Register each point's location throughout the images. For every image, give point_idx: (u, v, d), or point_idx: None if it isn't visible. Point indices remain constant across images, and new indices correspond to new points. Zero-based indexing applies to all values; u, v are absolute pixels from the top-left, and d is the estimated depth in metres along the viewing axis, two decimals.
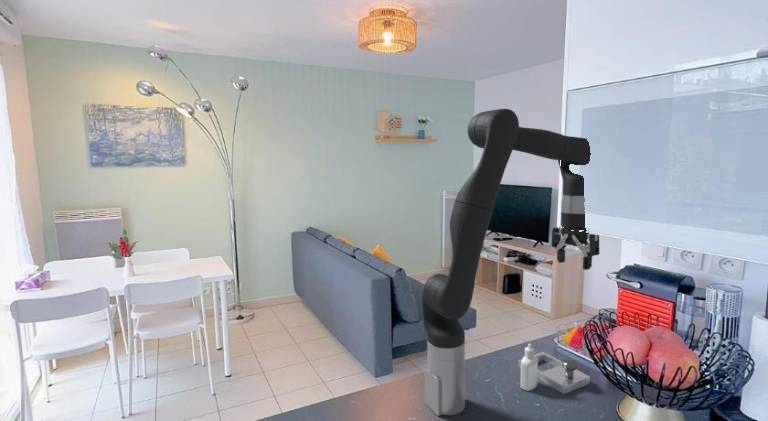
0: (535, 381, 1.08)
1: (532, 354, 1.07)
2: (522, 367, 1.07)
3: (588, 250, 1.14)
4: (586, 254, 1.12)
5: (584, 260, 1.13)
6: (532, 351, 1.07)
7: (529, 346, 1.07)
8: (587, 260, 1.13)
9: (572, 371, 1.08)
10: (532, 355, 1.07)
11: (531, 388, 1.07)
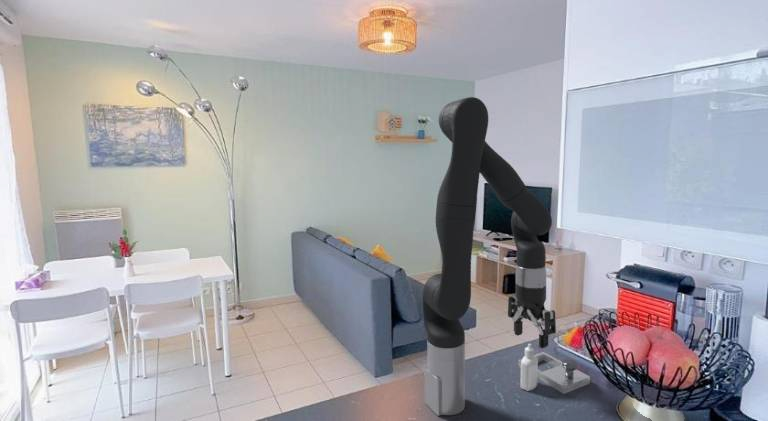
0: (535, 381, 1.08)
1: (532, 354, 1.07)
2: (522, 367, 1.07)
3: (544, 326, 1.03)
4: (542, 332, 1.02)
5: (540, 338, 1.03)
6: (532, 351, 1.07)
7: (529, 346, 1.07)
8: (543, 338, 1.02)
9: (572, 371, 1.08)
10: (532, 355, 1.07)
11: (531, 388, 1.07)
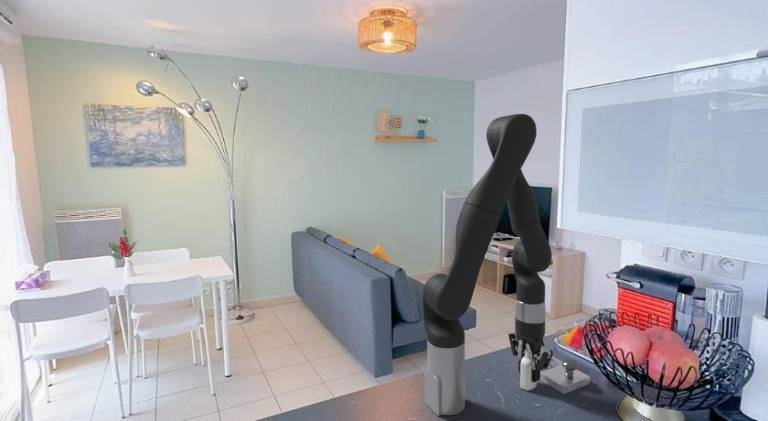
0: None
1: None
2: (522, 367, 1.07)
3: (538, 361, 1.06)
4: (534, 367, 1.05)
5: (532, 372, 1.06)
6: None
7: None
8: (535, 373, 1.06)
9: (572, 371, 1.08)
10: None
11: (531, 388, 1.07)
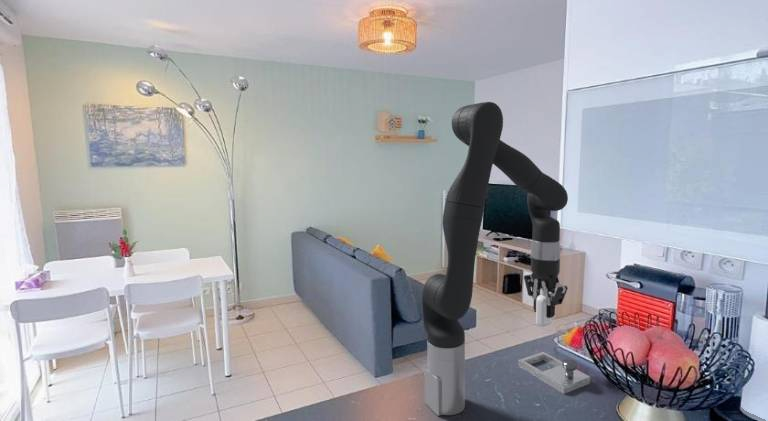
0: (550, 318, 1.14)
1: None
2: (537, 304, 1.13)
3: (553, 298, 1.13)
4: (549, 303, 1.12)
5: (547, 308, 1.12)
6: None
7: None
8: (550, 309, 1.12)
9: (572, 371, 1.08)
10: None
11: (546, 324, 1.13)
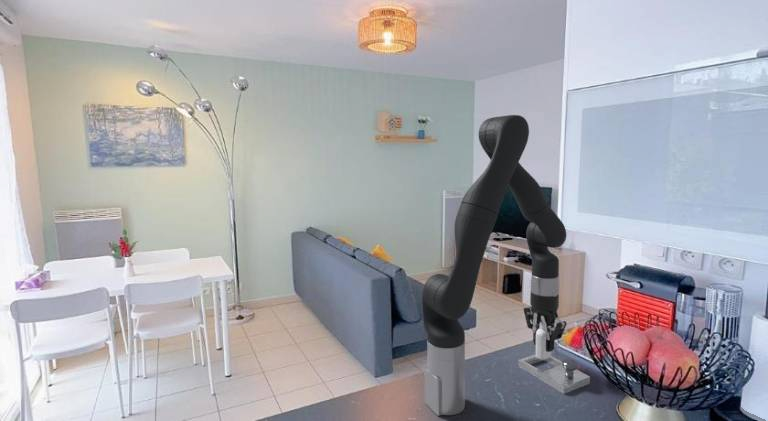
0: None
1: None
2: (537, 338, 1.15)
3: (552, 332, 1.14)
4: (548, 337, 1.13)
5: (547, 342, 1.14)
6: None
7: None
8: (549, 343, 1.13)
9: (572, 371, 1.08)
10: None
11: (546, 357, 1.15)
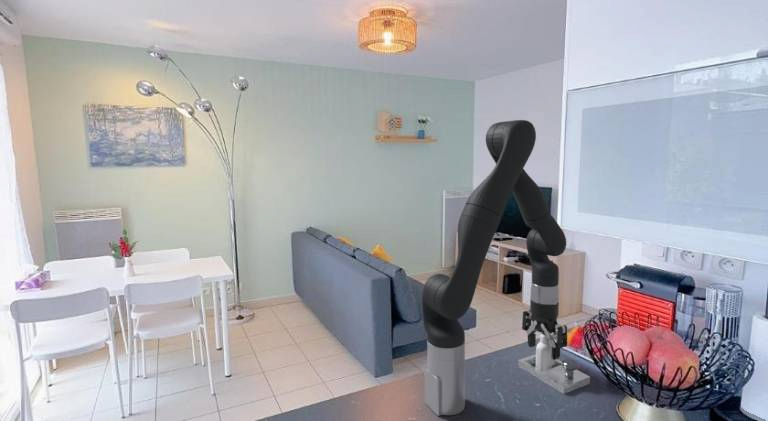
0: (549, 365, 1.16)
1: (547, 340, 1.15)
2: (537, 351, 1.15)
3: (557, 340, 1.13)
4: (554, 345, 1.11)
5: (552, 350, 1.12)
6: None
7: None
8: (555, 351, 1.12)
9: (572, 371, 1.08)
10: (547, 341, 1.15)
11: None
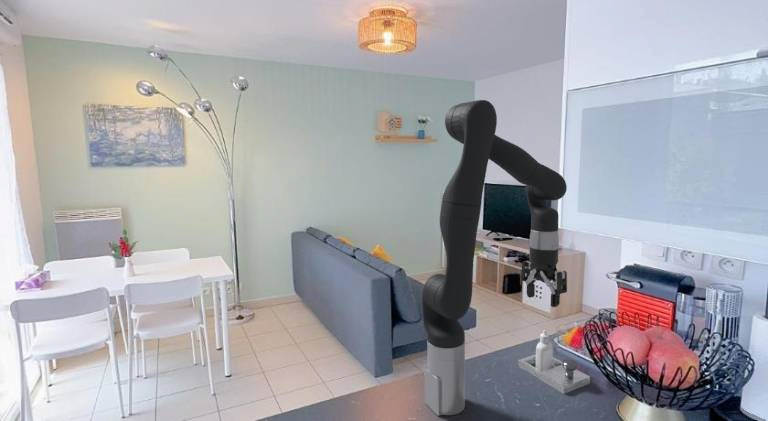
0: (549, 365, 1.16)
1: (547, 340, 1.15)
2: (537, 351, 1.15)
3: (556, 287, 1.11)
4: (554, 291, 1.09)
5: (552, 297, 1.10)
6: (547, 337, 1.15)
7: (544, 332, 1.15)
8: (555, 297, 1.10)
9: (572, 371, 1.08)
10: (547, 341, 1.15)
11: None
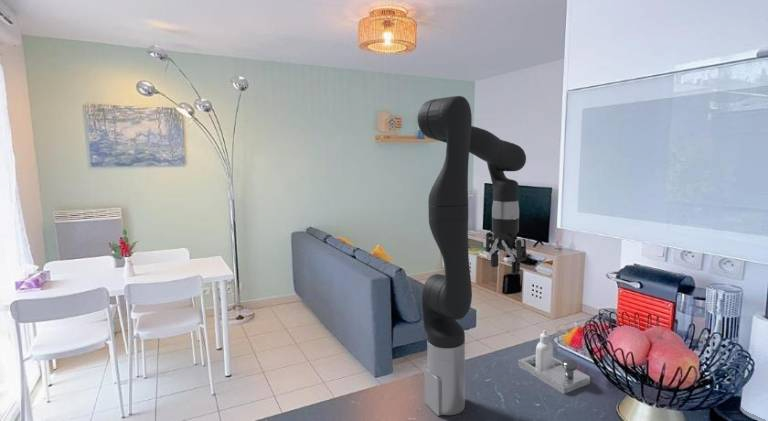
0: (549, 365, 1.16)
1: (547, 340, 1.15)
2: (537, 351, 1.15)
3: (517, 255, 1.16)
4: (514, 259, 1.14)
5: (512, 265, 1.15)
6: (547, 337, 1.15)
7: (544, 332, 1.15)
8: (515, 265, 1.14)
9: (572, 371, 1.08)
10: (547, 341, 1.15)
11: None
